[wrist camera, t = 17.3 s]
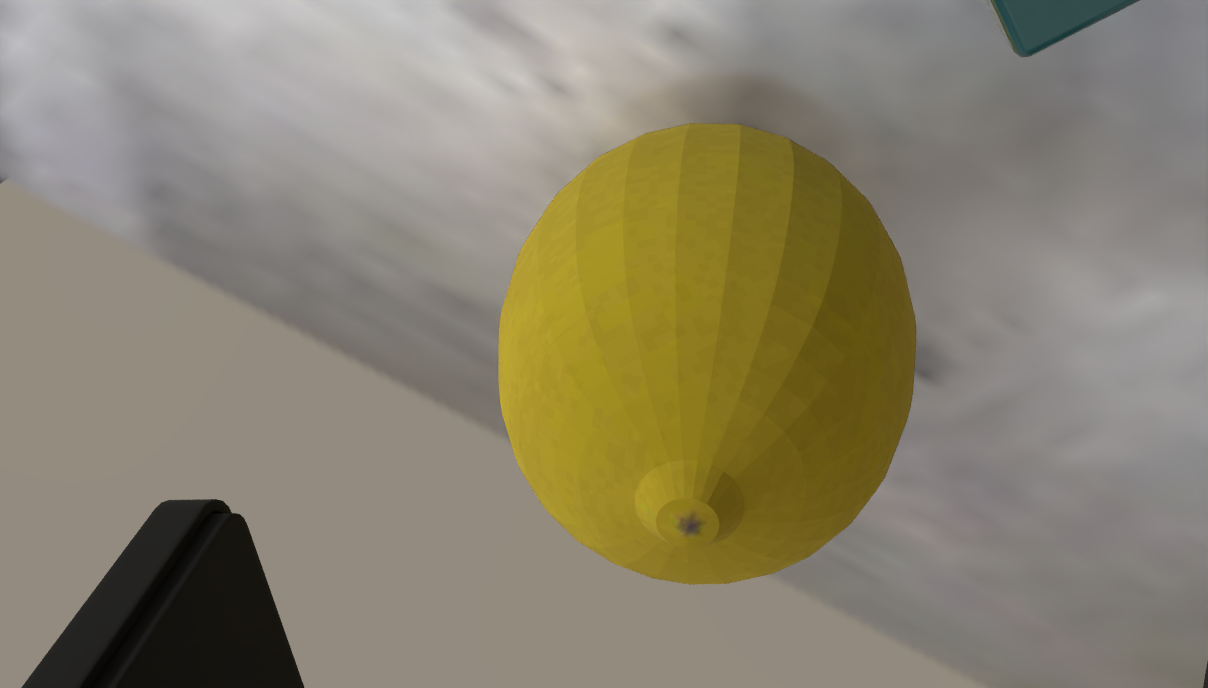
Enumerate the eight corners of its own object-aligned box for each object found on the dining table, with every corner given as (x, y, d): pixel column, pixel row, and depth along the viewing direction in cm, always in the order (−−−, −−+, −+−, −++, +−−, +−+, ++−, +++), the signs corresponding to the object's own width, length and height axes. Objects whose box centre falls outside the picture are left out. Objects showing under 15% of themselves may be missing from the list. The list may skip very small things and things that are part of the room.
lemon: (847, 384, 20) (886, 746, 14) (539, 335, 21) (424, 666, 14) (926, 81, 18) (1025, 347, 11) (567, 28, 18) (441, 256, 11)
